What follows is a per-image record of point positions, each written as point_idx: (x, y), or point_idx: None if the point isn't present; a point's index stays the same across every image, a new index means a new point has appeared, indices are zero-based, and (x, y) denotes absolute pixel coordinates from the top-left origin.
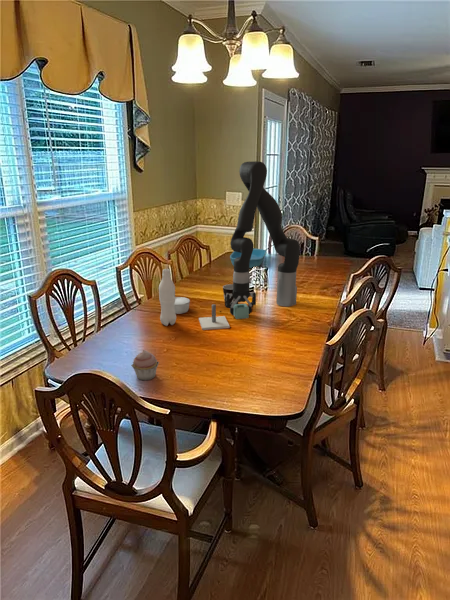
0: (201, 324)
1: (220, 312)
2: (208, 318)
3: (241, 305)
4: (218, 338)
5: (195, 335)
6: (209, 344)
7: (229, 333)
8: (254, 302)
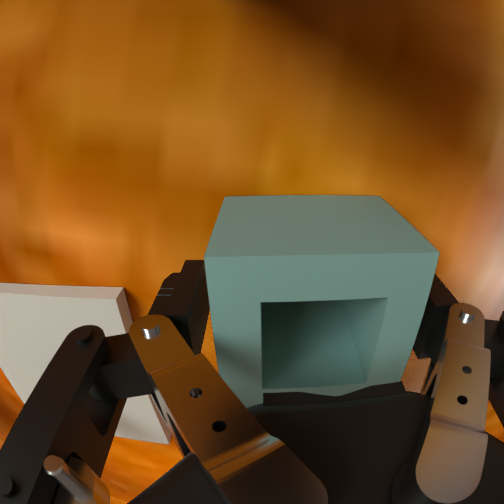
0: (11, 383)
1: (83, 116)
2: (9, 316)
3: (346, 294)
4: (128, 475)
5: None
6: (107, 485)
7: (172, 465)
8: (496, 391)
